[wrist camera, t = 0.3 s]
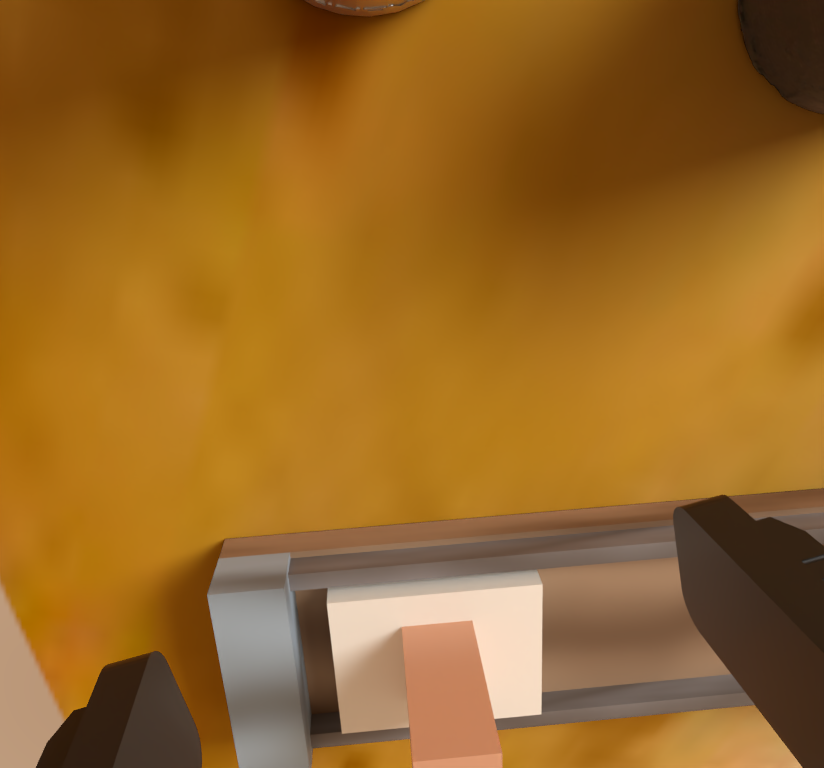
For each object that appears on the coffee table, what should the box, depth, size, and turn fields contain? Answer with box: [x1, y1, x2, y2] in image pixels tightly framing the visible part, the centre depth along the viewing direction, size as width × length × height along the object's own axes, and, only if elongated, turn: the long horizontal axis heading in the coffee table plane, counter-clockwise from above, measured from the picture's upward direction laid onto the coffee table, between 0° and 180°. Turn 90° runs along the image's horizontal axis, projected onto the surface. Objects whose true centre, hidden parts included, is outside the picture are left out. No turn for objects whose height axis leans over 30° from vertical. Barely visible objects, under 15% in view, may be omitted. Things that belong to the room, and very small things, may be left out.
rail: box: [207, 488, 824, 768], centre depth 32 cm, size 10×30×4 cm, turn 93°
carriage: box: [327, 570, 543, 768], centre depth 29 cm, size 7×9×8 cm
